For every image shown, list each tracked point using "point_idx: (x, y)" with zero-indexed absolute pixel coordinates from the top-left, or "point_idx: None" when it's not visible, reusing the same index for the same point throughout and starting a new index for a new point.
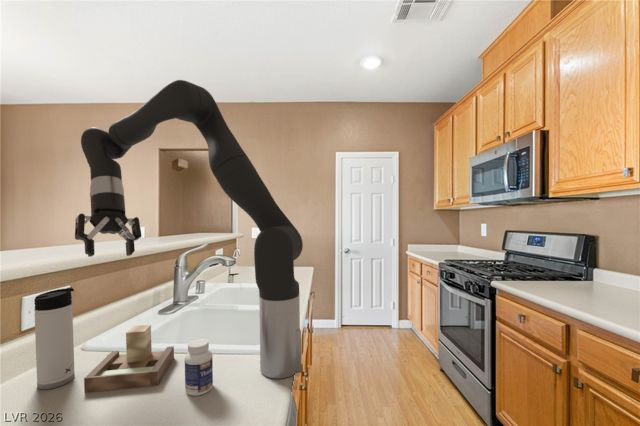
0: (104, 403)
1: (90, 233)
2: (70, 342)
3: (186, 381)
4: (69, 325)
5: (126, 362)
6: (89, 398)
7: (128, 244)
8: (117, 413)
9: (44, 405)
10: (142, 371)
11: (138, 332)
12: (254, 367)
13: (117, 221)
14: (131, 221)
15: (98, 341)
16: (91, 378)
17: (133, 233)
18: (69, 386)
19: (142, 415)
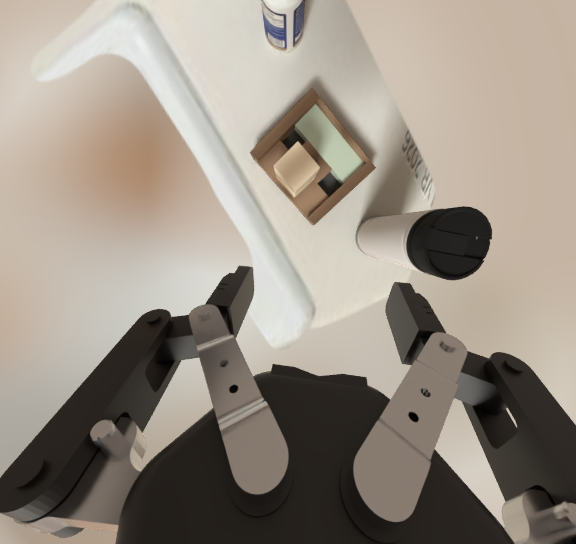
0: (368, 121)
1: (457, 364)
2: (384, 219)
3: (303, 19)
4: (399, 217)
5: (313, 180)
6: (371, 152)
7: (238, 299)
8: (370, 82)
9: (404, 185)
10: (315, 128)
11: (305, 150)
12: (196, 3)
13: (269, 432)
14: (105, 468)
15: (288, 322)
16: (369, 160)
17: (161, 379)
18: (371, 208)
19: (357, 47)
